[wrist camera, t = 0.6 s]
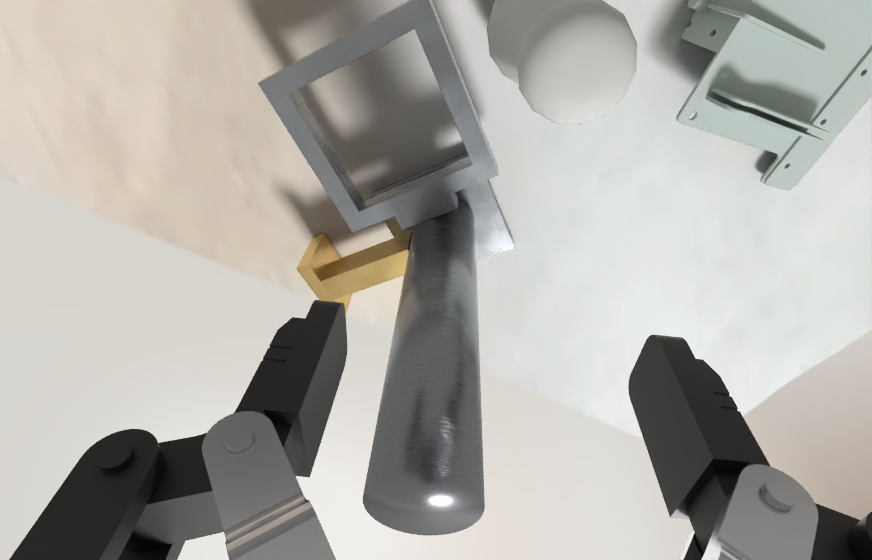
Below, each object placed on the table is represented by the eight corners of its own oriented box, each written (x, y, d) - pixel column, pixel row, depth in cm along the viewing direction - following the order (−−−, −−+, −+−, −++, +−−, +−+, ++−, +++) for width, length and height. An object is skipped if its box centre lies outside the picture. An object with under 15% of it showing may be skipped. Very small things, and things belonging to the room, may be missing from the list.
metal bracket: (662, 164, 26) (898, -198, 17) (610, 124, 30) (778, -182, 22) (821, 206, 31) (1061, -56, 23) (757, 167, 35) (939, -66, 27)
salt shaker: (532, 97, 29) (570, 181, 19) (465, 31, 27) (465, 83, 17) (608, 16, 27) (702, 61, 16) (539, -63, 25) (594, -72, 14)
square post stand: (430, -13, 26) (355, 68, 8) (528, 237, 35) (594, 534, 17) (219, 101, 30) (-131, 317, 13) (355, 298, 39) (263, 586, 22)
